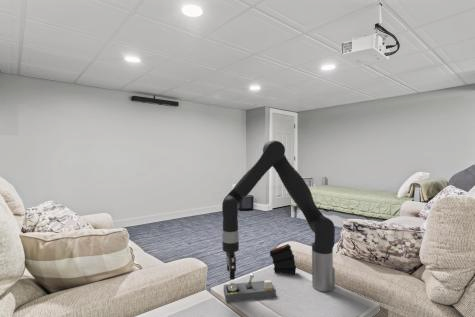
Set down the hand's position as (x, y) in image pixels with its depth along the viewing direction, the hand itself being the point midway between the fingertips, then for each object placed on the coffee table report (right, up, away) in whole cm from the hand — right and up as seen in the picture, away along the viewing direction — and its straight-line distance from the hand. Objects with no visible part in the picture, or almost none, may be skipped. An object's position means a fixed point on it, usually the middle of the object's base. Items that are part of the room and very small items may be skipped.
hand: (230, 274), depth 121 cm
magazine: (+27, -7, +18) cm, 33 cm away
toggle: (+8, -3, -3) cm, 9 cm away
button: (+1, -6, -4) cm, 7 cm away
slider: (+17, -4, -4) cm, 18 cm away
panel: (+8, -8, -3) cm, 12 cm away
